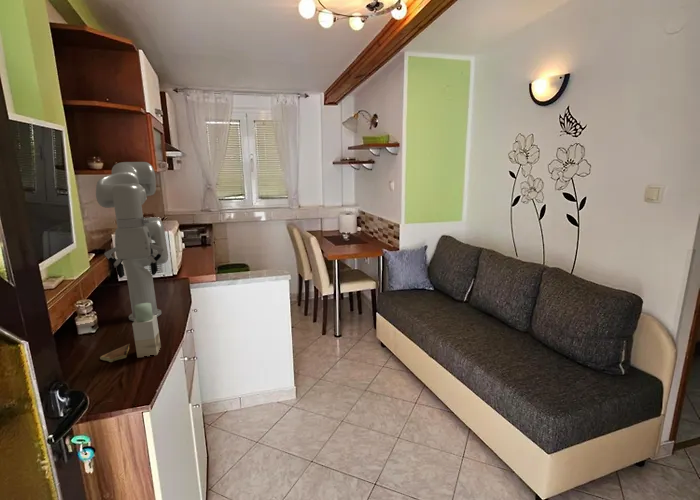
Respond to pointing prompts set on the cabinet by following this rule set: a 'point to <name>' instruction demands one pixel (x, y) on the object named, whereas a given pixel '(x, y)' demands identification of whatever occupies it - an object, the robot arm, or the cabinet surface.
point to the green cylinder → (143, 312)
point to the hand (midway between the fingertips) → (138, 275)
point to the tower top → (145, 329)
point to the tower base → (148, 346)
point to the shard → (116, 354)
